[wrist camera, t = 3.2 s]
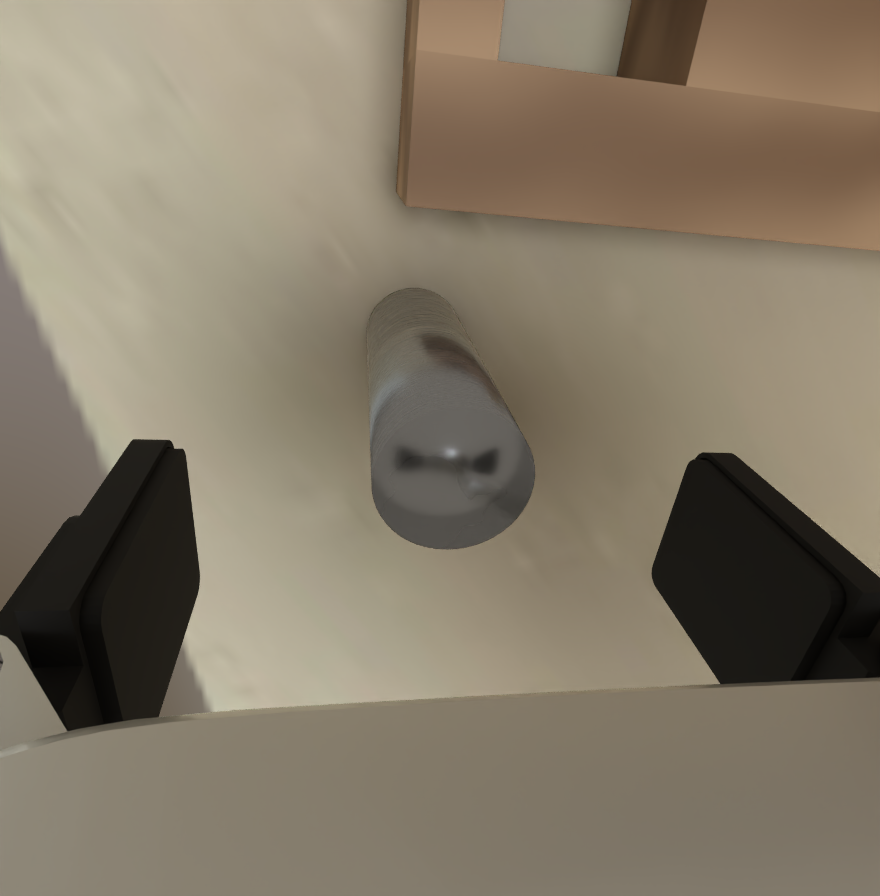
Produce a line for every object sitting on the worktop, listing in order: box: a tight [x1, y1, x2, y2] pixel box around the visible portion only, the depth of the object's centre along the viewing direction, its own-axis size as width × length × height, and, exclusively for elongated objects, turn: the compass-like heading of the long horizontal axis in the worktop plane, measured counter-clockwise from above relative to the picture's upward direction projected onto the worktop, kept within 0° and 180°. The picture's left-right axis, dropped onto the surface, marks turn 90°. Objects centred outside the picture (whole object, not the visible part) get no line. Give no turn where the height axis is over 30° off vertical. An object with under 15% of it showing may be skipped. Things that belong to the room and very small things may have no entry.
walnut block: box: [396, 0, 880, 251], centre depth 17 cm, size 12×22×5 cm, turn 84°
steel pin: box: [367, 288, 535, 549], centre depth 18 cm, size 4×4×11 cm
